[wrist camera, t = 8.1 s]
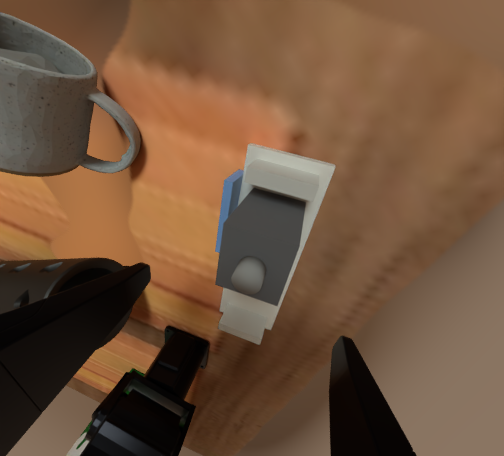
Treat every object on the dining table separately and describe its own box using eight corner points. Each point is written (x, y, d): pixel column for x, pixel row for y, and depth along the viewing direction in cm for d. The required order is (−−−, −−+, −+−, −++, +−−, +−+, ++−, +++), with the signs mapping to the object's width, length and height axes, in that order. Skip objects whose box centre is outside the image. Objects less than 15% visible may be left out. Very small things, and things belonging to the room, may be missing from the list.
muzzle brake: (153, 297, 28) (78, 382, 19) (27, 291, 37) (-62, 347, 29) (118, 233, 24) (4, 304, 15) (-13, 245, 33) (-131, 293, 25)
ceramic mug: (37, 125, 20) (-98, 134, 13) (31, 17, 16) (-173, -47, 9) (136, 188, 20) (53, 226, 14) (158, 102, 16) (52, 99, 10)
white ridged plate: (272, 324, 24) (265, 352, 21) (217, 303, 25) (204, 328, 22) (334, 164, 15) (338, 177, 12) (243, 141, 16) (226, 147, 13)
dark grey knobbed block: (289, 250, 18) (273, 323, 12) (244, 236, 18) (206, 298, 12) (306, 202, 16) (297, 261, 10) (253, 187, 16) (213, 234, 10)
